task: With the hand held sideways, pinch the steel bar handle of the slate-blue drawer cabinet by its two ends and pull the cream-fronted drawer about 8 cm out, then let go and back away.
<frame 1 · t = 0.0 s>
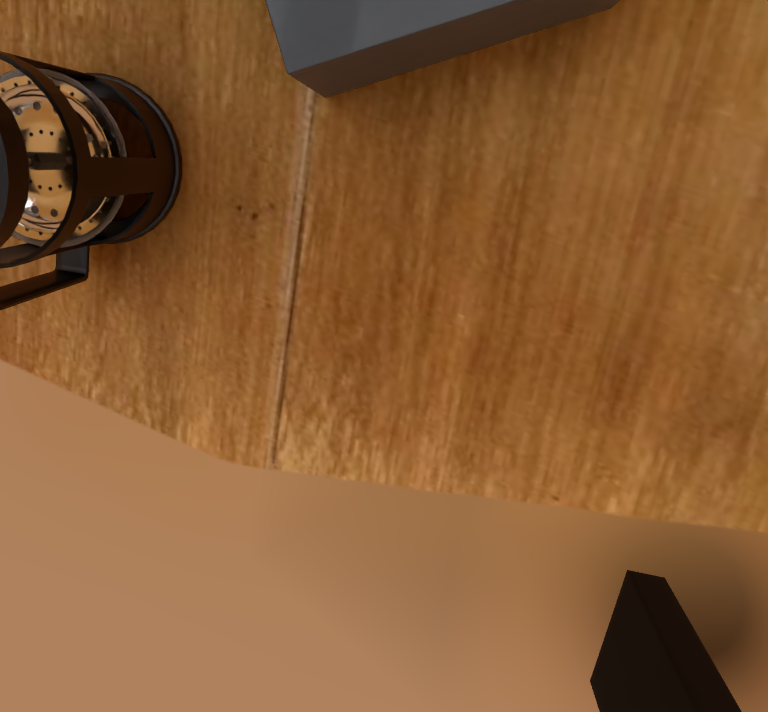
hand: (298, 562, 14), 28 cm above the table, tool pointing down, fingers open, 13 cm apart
french press: (103, 170, 40), on the table
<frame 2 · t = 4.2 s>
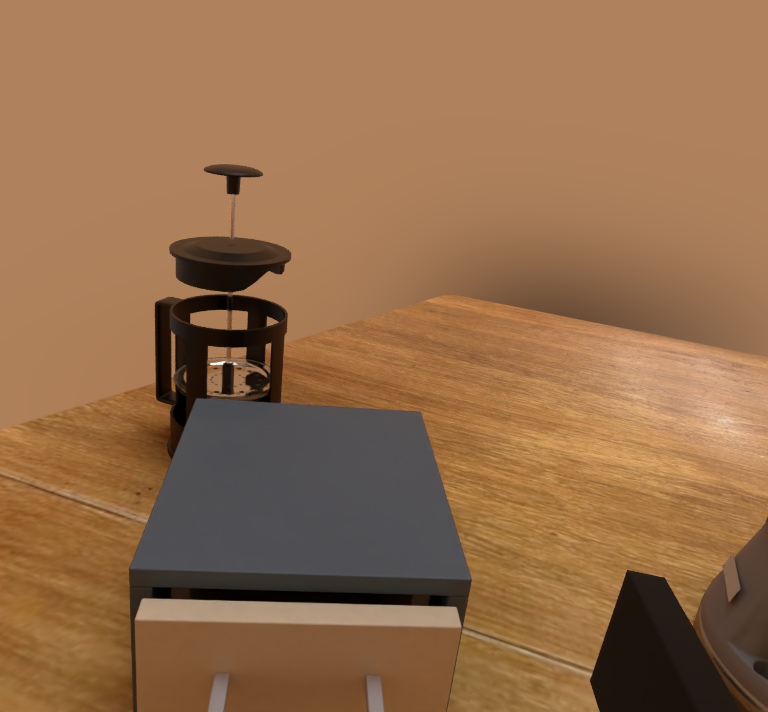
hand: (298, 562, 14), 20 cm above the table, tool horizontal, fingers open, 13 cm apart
french press: (220, 447, 58), on the table
drawer: (299, 622, 33), point 5 cm above the table, slide at 0.5 cm
cabinet: (295, 637, 39), on the table
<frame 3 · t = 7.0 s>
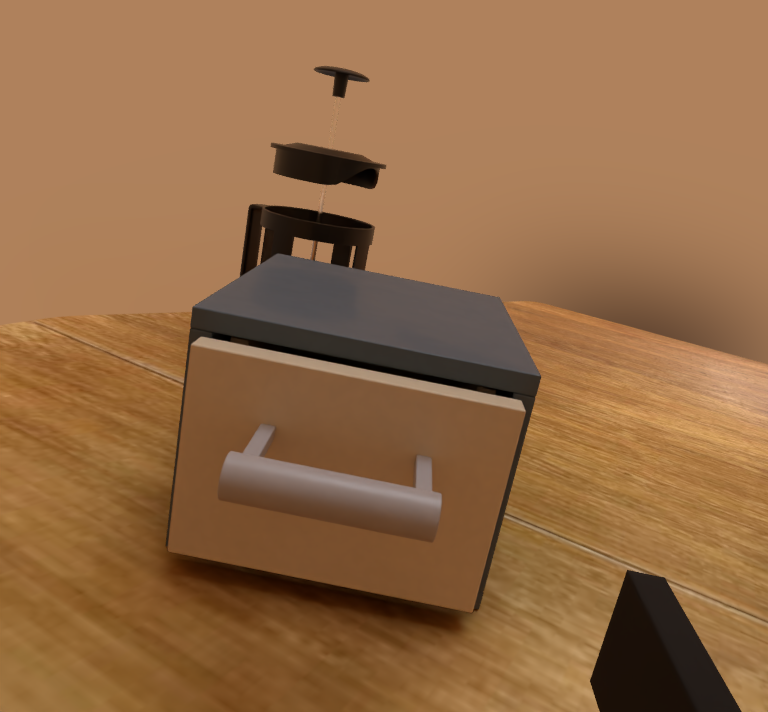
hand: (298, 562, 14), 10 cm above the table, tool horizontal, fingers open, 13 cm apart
french press: (291, 360, 58), on the table
drawer: (351, 436, 31), point 5 cm above the table, slide at 0.5 cm
cabinet: (343, 493, 37), on the table
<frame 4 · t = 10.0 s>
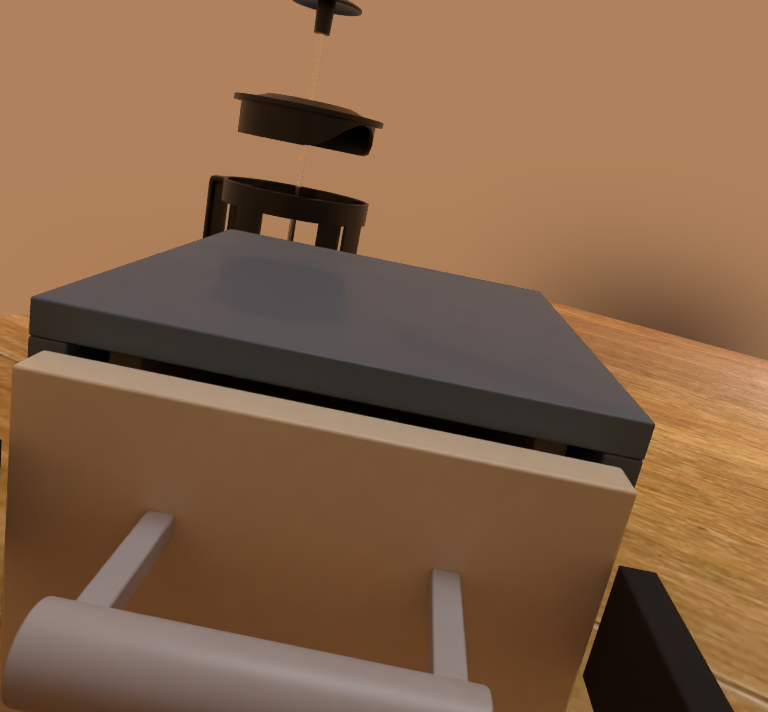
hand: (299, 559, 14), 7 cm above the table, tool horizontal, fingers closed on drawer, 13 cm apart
french press: (263, 372, 46), on the table
drawer: (322, 507, 19), point 5 cm above the table, slide at 0.4 cm, touching gripper
cabinet: (316, 576, 25), on the table
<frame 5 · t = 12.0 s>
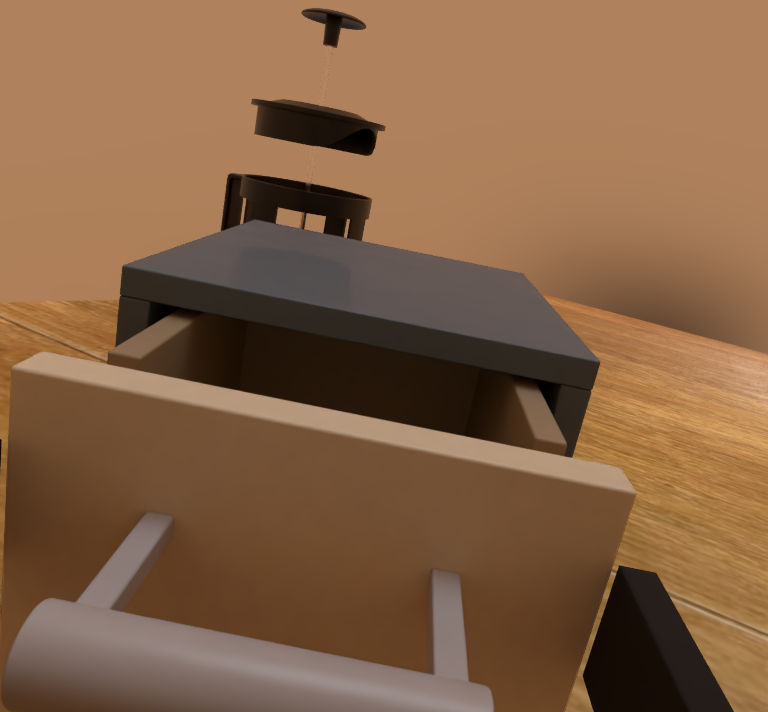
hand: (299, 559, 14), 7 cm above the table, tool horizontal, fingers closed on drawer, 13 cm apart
french press: (276, 352, 51), on the table
drawer: (322, 507, 19), point 5 cm above the table, slide at 5.2 cm, touching gripper
cabinet: (332, 512, 30), on the table
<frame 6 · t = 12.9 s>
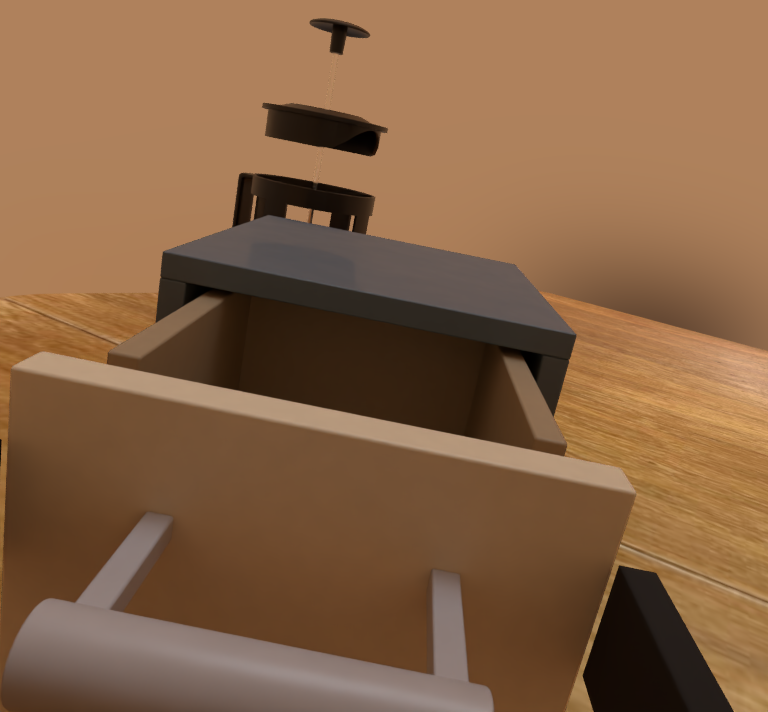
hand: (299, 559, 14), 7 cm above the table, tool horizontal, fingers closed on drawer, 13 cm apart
french press: (284, 341, 54), on the table
drawer: (322, 508, 19), point 5 cm above the table, slide at 8.4 cm, touching gripper
cabinet: (340, 480, 33), on the table
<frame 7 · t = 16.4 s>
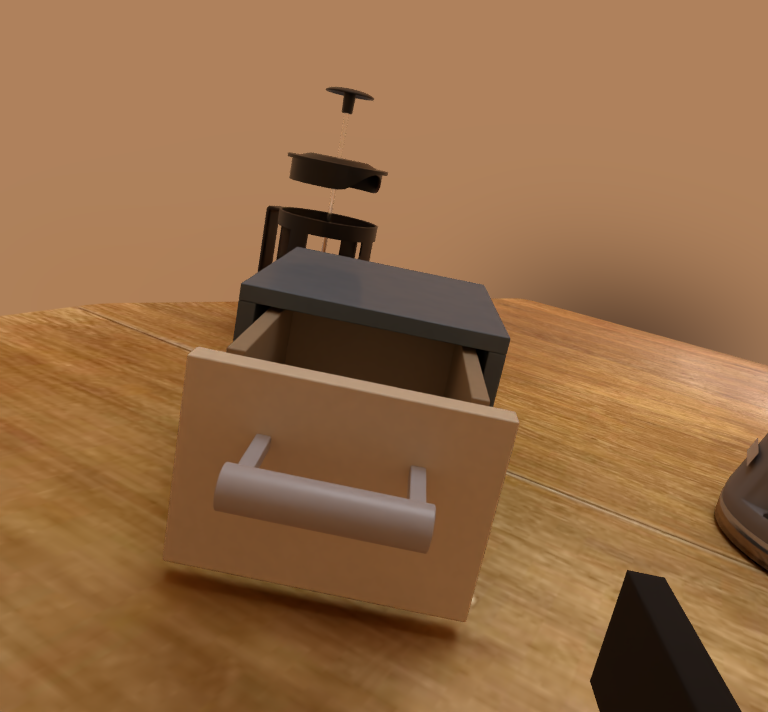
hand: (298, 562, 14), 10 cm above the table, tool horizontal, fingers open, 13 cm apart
french press: (303, 343, 66), on the table
drawer: (346, 445, 31), point 5 cm above the table, slide at 8.4 cm
cabinet: (352, 444, 45), on the table
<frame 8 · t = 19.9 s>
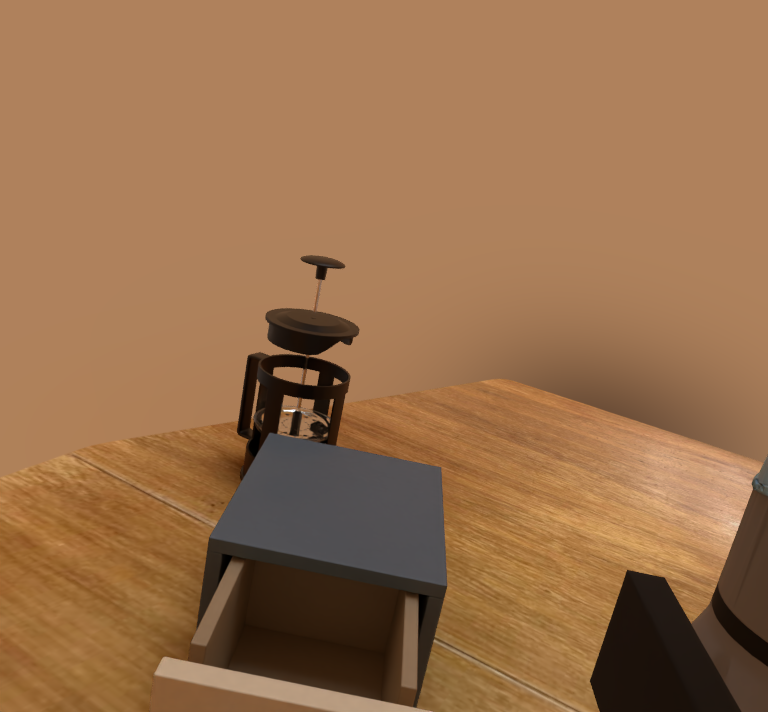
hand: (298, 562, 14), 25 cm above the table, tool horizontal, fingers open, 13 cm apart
french press: (282, 479, 70), on the table
drawer: (298, 700, 36), point 5 cm above the table, slide at 8.4 cm
cabinet: (317, 629, 50), on the table
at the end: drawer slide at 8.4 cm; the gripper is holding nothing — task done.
